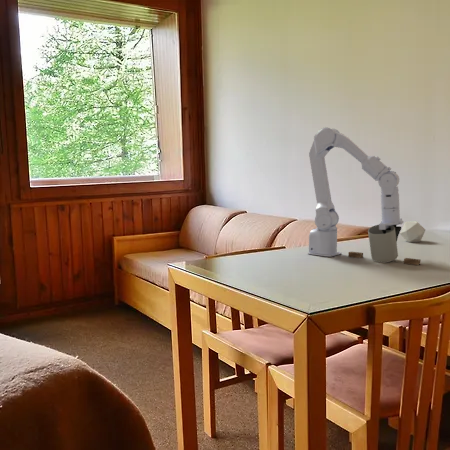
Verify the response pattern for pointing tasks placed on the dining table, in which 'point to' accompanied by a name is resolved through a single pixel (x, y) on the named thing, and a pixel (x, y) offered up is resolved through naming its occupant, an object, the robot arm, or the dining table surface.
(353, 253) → the pair of brown blocks
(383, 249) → the grey cylinder
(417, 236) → the die
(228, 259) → the dining table surface
